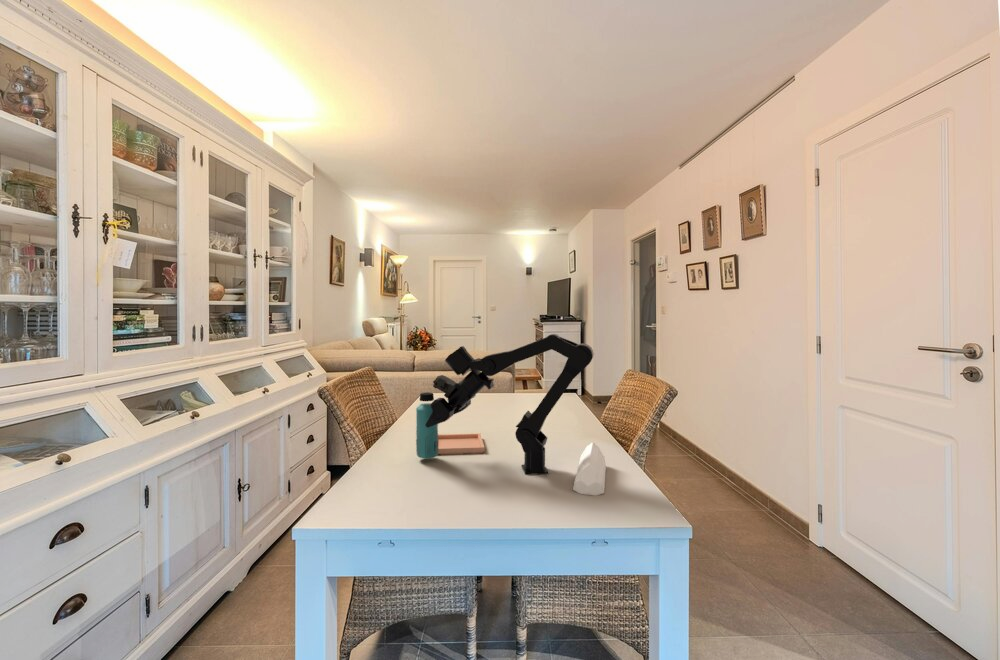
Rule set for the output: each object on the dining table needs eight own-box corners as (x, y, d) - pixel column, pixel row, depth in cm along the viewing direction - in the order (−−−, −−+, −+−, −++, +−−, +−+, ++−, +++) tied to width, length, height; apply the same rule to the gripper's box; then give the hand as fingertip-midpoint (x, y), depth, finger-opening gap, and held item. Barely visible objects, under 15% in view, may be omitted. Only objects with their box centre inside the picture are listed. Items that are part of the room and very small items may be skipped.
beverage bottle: (436, 463, 127) (436, 395, 126) (413, 463, 127) (413, 394, 127) (440, 456, 134) (440, 391, 133) (418, 456, 134) (418, 390, 133)
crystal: (573, 449, 129) (564, 479, 106) (595, 438, 128) (590, 466, 104) (586, 472, 129) (579, 507, 106) (608, 461, 127) (606, 495, 104)
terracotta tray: (484, 453, 137) (484, 447, 137) (432, 454, 135) (432, 449, 135) (480, 438, 153) (480, 433, 153) (433, 439, 151) (433, 434, 151)
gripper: (461, 363, 136) (428, 396, 140) (437, 370, 118) (400, 408, 122) (485, 389, 135) (451, 422, 138) (464, 401, 117) (426, 439, 120)
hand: (433, 422), depth 130 cm, fingers open, 9 cm apart
